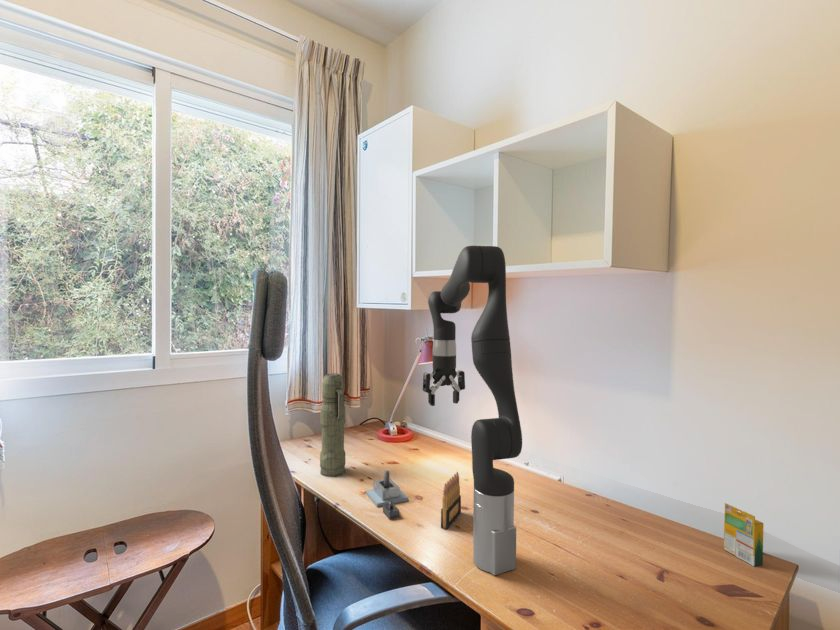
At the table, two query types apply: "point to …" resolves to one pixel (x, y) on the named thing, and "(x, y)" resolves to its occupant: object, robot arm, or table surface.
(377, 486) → the steel link
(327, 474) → the thermos
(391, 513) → the anchor cleat
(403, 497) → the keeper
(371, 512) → the table surface
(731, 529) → the crayon box
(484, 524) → the robot arm
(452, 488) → the ammunition clip
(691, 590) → the table surface
